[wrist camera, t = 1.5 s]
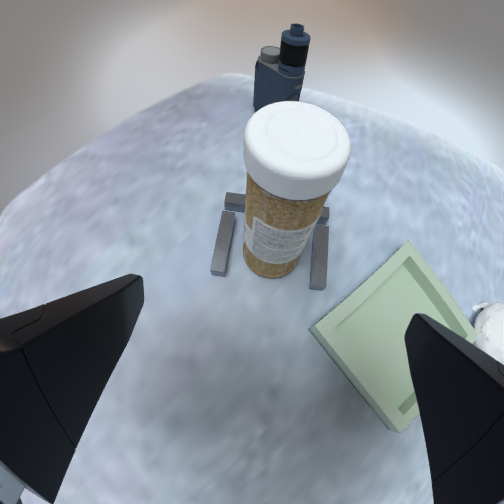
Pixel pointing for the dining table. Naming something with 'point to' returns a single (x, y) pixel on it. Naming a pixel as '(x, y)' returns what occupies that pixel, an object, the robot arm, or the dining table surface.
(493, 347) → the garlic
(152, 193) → the dining table surface
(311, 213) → the sprinkles bottle
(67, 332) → the robot arm
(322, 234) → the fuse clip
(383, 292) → the tray
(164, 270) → the dining table surface
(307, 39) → the vaping device
